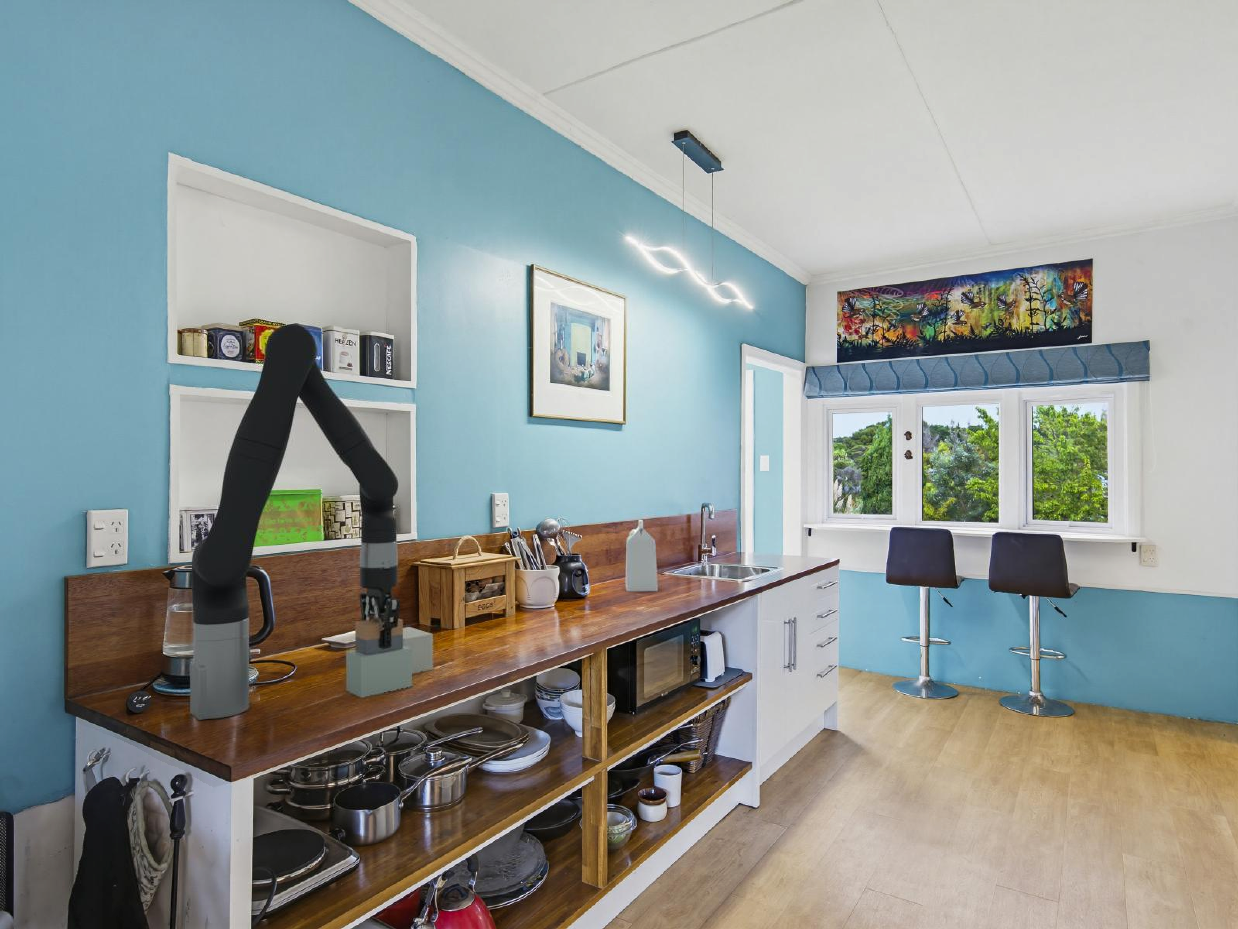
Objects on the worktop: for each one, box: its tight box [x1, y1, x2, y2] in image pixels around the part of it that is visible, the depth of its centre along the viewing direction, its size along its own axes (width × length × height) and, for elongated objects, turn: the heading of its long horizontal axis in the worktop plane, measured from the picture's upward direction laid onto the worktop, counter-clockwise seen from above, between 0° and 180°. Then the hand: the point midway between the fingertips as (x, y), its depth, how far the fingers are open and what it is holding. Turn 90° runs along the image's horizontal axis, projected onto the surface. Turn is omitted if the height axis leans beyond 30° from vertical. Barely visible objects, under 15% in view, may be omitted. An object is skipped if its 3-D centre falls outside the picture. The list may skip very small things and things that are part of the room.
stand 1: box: [345, 645, 413, 699], centre depth 154 cm, size 11×7×8 cm, turn 134°
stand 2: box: [403, 626, 434, 675], centre depth 170 cm, size 7×11×8 cm, turn 44°
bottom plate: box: [354, 634, 403, 655], centre depth 154 cm, size 8×5×3 cm, turn 134°
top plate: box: [354, 616, 404, 640], centre depth 154 cm, size 8×5×4 cm, turn 134°
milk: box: [624, 519, 659, 592], centre depth 283 cm, size 12×12×26 cm
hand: (379, 645), depth 154 cm, fingers closed on bottom plate, top plate, 5 cm apart
